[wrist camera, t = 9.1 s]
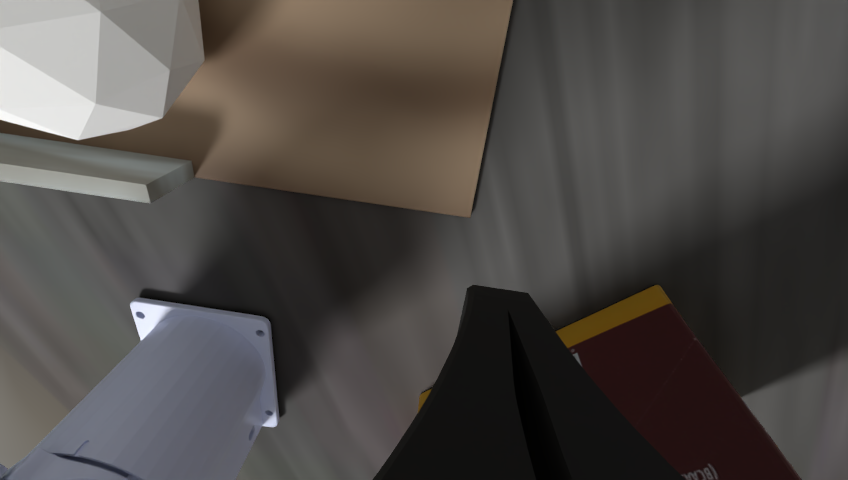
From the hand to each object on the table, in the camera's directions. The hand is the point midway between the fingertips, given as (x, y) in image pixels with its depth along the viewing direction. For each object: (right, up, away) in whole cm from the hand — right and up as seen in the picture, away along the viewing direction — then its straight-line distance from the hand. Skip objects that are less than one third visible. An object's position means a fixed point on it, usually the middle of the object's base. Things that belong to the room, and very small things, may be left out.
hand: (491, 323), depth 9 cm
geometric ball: (-12, +11, +6) cm, 18 cm away
